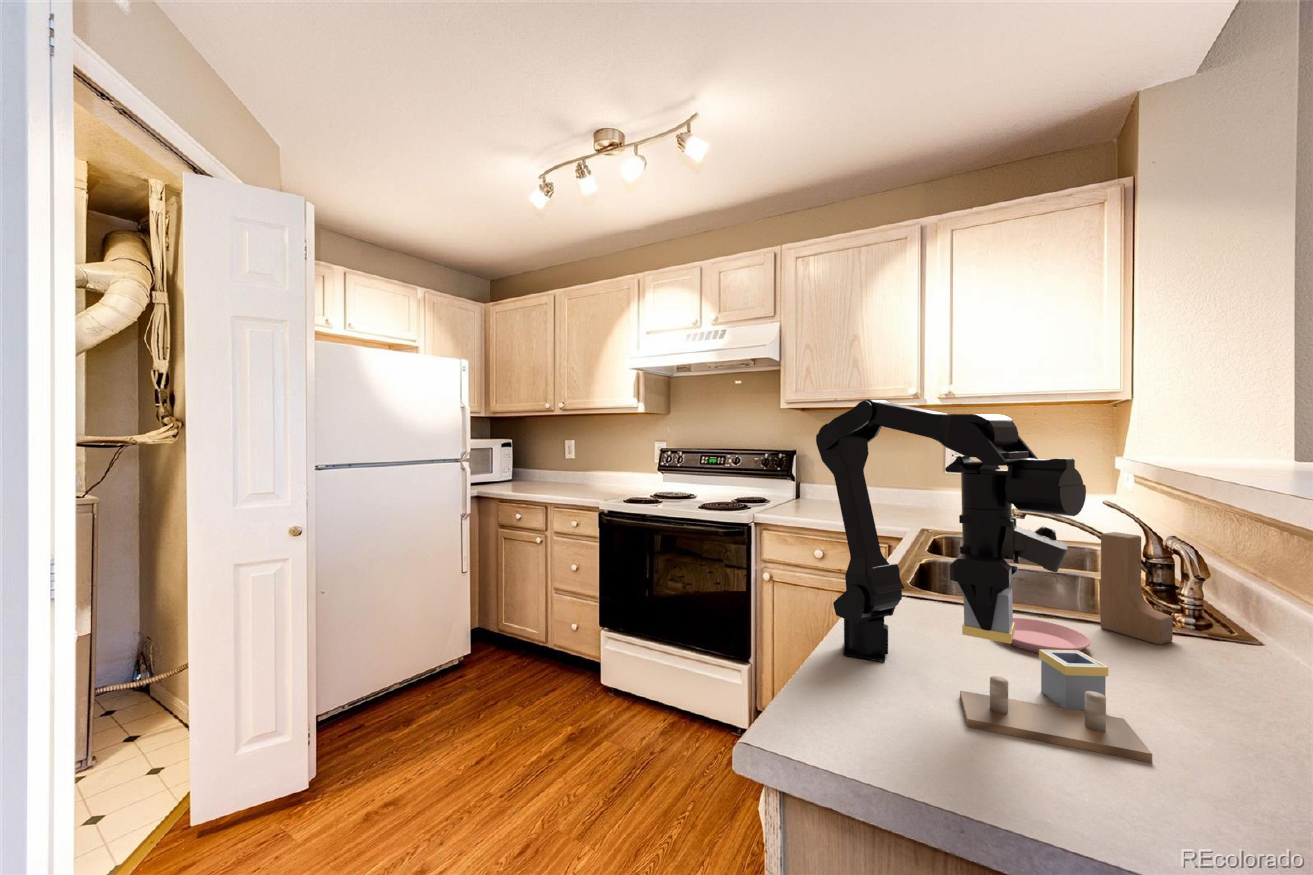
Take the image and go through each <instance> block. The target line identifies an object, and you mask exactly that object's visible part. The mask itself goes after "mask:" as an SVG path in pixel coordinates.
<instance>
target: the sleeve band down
mask: <svg viewBox="0 0 1313 875" xmlns="http://www.w3.org/2000/svg"><path fill="white" fill-rule="evenodd" d="M1013 613H1014V612H1013V587H1012V586H1010V587H1009V588H1007V589H1005V590H1003V591H1002V592H1000V593H999V594H998V599H997V604H996V609H995V614H994V619H993V624H992V629H991V630H990V631H988V630H983V629H981V627H980V625H979V623H978V621H977V619H976V617H975V615H974V613H973V611H972V609H971V607H970V605H969V603H968V601H967V599H966V597H965V595H964V594H963V624H962V625H961V626H962V627H961V629H962V633H961V635H962V636H968V637H972V638H979V639H984V640H990V641H995V642H1000V643H1005V644H1010V645H1012V644H1011V643H1012V639H1013V636H1014V633H1015V622H1013V618H1014V616H1013V615H1014V614H1013Z"/></svg>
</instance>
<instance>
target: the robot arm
mask: <svg viewBox="0 0 1313 875" xmlns="http://www.w3.org/2000/svg"><path fill="white" fill-rule="evenodd" d="M883 427H884V428H888V429H892V430H895V431H899V432H905V433H908V434H913V435H917V436H920V437H924V438H925V437H926V438H929V439H932V440H934V441H936V442H938V443H940V445H942V446H943V447H945V448H946V449H949V450H951V451H953V452H955V453H957V454H959V455H957V456H956V458H955V459H954V460H953V461H952V462H951V463H950V464H949V465H947V466H946V467H945V468H944V471H945V472H946V473H952V474H953V473H955V474H960V480H961V481H960V485H961V486H960V487H961V488H960V489H961V490H960V492H961V514H959V515H958V518H959V519H958V521H959V524H961V528H962V529H961V533H962V534H961V538H962V540H961V541H962V543H961V545H959V554H960V555H958V557H956V558H955V559H954V560H953V561H952V562H951V563H950V564H949V581H952V582H956V583H957V584H958V585H959V588H960V590H962V594H963V596H964V595H965V597H966V599H967V601H968V603H969V605H970V607H971V609H972V611H973V613H974V615H975V617H976V619H977V621H978V623H979V625H980V627H981V629H983V630H988V631H990V630H991V629H992V624H993V619H994V614H995V609H996V604H997V599H998V594H999V593H1000V592H1002V591H1003V590H1005V589H1007V588H1009V587H1012V586H1011V585H1012V584H1013V580H1012V575H1014V574H1016V572H1017V570H1018V569H1019V567H1018V566H1016V565H1010V563H1009V562H1007V561H1006V560H1010V561H1013V564H1020V561H1021V559H1024V560H1026V561H1029V562H1031V563H1033V564H1036V565H1039V566H1041V567H1042V568H1043V569H1044V570H1047V571H1050V572H1052V573H1057V572H1058V571H1059V569H1060V567H1061V565H1062V563H1063V560H1064V558H1065V557H1066V554H1067V552H1068V545H1067V544H1066V543H1065V542H1063V541H1060V540H1058V539H1057V532H1056V530H1055V529H1053V528H1050V527H1048V526H1045V525H1042V526H1040V527H1038V528H1037V529H1036V530H1035V531H1032V530H1031V529H1026V528H1023V527H1020V526H1017V517H1016V516H1014V514H1013V508H1012V505H1013V506H1014V507H1015V508H1016V509H1017V510H1018V511H1020V512H1028V513H1038V514H1045V515H1046V514H1049V515H1057V516H1065V517H1066V516H1068V517H1075V516H1077V515H1079V514H1080V513H1081V511H1083V508H1084V505H1085V502H1086V499H1087V498H1086V496H1087V495H1086V494H1087V486H1086V484H1084V480H1083V478H1082V475H1081V473H1080V472H1079V470H1078V469H1076V460H1075V459H1074V458H1073V457H1072V458H1071V457H1070V458H1069V457H1060V458H1050V459H1047V458H1046V459H1043V458H1042V459H1041V458H1040V459H1039V458H1038V457H1037V456H1036V454H1035V453H1034V452H1033V450H1032V449H1031V448H1030V447H1029V446H1028V445H1027V443H1026V442H1025V441H1024V440H1023V439H1022V438H1021V436H1020V435H1019V431H1018V426H1017V425H1016V423H1014V420H1013V419H1012V418H1011V417H1009V416H1006V415H1004V414H984V413H982V414H979V413H978V414H977V413H974V414H973V413H968V414H967V413H945V412H942V411H941V412H939V411H935V410H930V409H924V408H918V407H915V406H914V407H913V406H908V405H904V404H903V405H902V404H899V403H893V402H892V403H891V402H888V401H887V400H885V399H865V400H861V401H859V403H857V404H856V405H855V406H854V407H853V408H852V409H850V410H847V411H845V412H844V413H842V414H840V415H838V416H836V417H834V418H832V420H830V422H828V423H825V424H823V425H822V426H821V427H820V428H819V431H818V432H817V434H816V436H815V444H816V447H817V450H818V453H819V456H820V459H821V462H822V463H824V465H825V466H826V467H827V468H828V470H829V471H830V473H832V475H833V477H834V483H835V486H836V487H835V488H836V492H837V497H838V501H839V507H840V511H841V518H842V522H843V527H844V532H845V536H846V541H847V546H848V551H849V556H850V557H849V558H850V559H849V562H848V566H847V568H846V572H845V578H844V580H845V591H844V592H843V593H842V594H841V595H840V596H838V597H837V599H836V600H834V601H833V603H832V604H833V605H832V606H833V609H834V613H835V615H836V616H837V617H840V618H842V619H843V646H842V647H843V648H842V651H841V652H842V655H843V656H845V657H846V656H847V657H852V658H856V659H857V658H860V659H865V660H871V661H878V662H885V661H886V656H887V655H888V654H889V625H888V624H886V623H885V617H890V616H891V617H892V616H893V615H894V612H895V610H896V607H897V606H898V605H899V604H900V601H902V600H903V599H902V598H903V593H902V592H903V590H904V589H905V586H904V584H903V582H902V580H901V575H900V567H899V565H898V564H897V563H891V564H890V563H889V562H888V561H887V558H885V556H884V555H883V553H882V550H881V546H880V541H879V536H878V532H877V528H876V522H875V519H874V518H875V517H874V513H873V509H872V505H871V500H870V495H869V491H868V487H867V486H868V485H867V482H866V477H865V466H866V463H867V460H868V456H869V443H870V442H871V441H873V440H874V439H875V438H876V437H877V436H878V435H879V433H880V432H881V430H882V428H883ZM972 458H976V459H977V460H976V461H975V460H973V459H972ZM1002 466H1003V467H1005V466H1006V467H1007V469H1001V468H1000V467H1002Z"/></svg>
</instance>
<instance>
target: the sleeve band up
mask: <svg viewBox="0 0 1313 875" xmlns="http://www.w3.org/2000/svg"><path fill="white" fill-rule="evenodd" d="M1038 658H1039V659H1040V660H1041V662H1040V667H1041V668H1040V670H1041V672H1040V674H1041V675H1040V682H1041V683H1040V692H1041V693H1042V694H1043V695H1045V696H1046V697H1047V698H1049V699H1050V700H1051V701H1053V703H1055V704H1057V705H1058V707H1060V708H1065V709H1071V710H1077V711H1083V712H1085V692H1086V691H1093V692H1097V693H1100V694H1102V695H1104V696H1105V697H1106V682H1107V681H1106V677H1109V666H1106V665H1105V664H1103V663H1101V662H1100V661H1098V660H1097V659H1094V658H1093V657H1091V656H1089V655H1087V654H1086V653H1084V652H1082V651H1078V650H1039V653H1038Z"/></svg>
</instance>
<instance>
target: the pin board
mask: <svg viewBox="0 0 1313 875" xmlns="http://www.w3.org/2000/svg"><path fill="white" fill-rule="evenodd" d="M959 699H960V703H961V706H962V711H963V714H964V718H965V721H966V722H965V723H966V726H967V727H968V728H971V729H978V730H982V731H988V732H993V733H998V734H1003V735H1008V736H1014V737H1019V738H1025V739H1029V740H1033V741H1034V740H1035V741H1039V742H1045V743H1049V744H1055V745H1060V746H1064V747H1070V748H1075V749H1080V750H1085V751H1091V752H1096V753H1100V754H1105V755H1106V754H1107V755H1111V756H1115V755H1116V757H1121V758H1127V759H1132V760H1137V761H1141V762H1147V763H1151V764H1153V752H1151V750H1150V749H1149V747H1147V746H1146V744H1145V743H1144V741H1142V739H1141V738H1140V737H1139V735H1137V733H1136V732H1135V731H1134V729H1133V728H1132V727H1131V725H1130V724H1129V723H1128V721H1127V720H1126V719H1125V718H1124V717H1116V716H1111V715H1107V696H1106V695H1105V696H1104V695H1102V694H1100V693H1097V692H1093V691H1086V692H1085V711H1077V710H1071V709H1065V708H1062V707H1061V706H1053V705H1048V704H1041V703H1035V702H1030V701H1024V700H1018V699H1011V698H1009V680H1008V679H1006V678H1004V677H1002V676H997V675H991V676H990V677H989V694H982V693H977V692H972V691H971V692H970V691H966V690H959Z"/></svg>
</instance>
